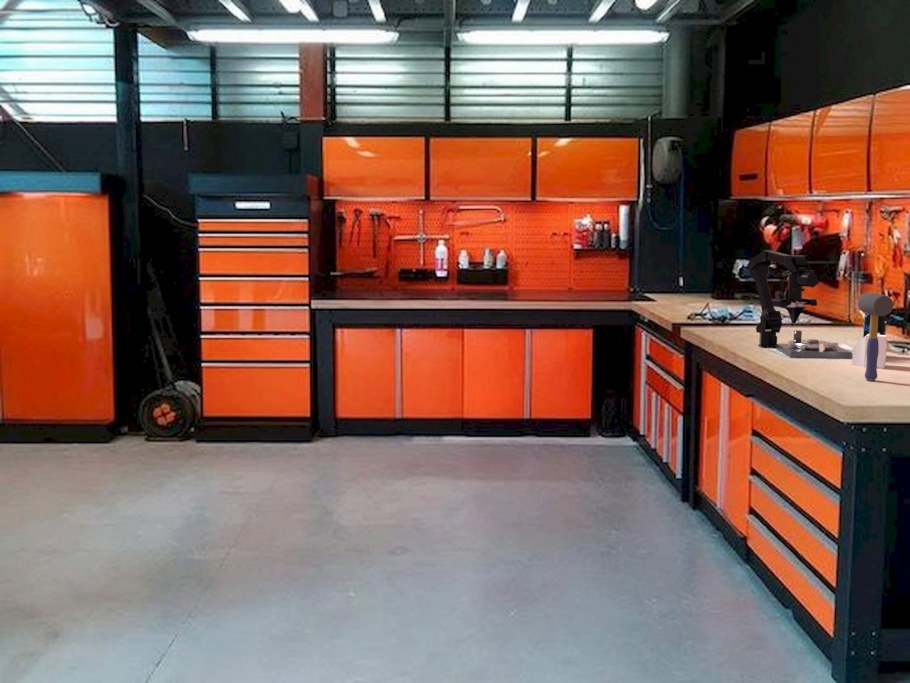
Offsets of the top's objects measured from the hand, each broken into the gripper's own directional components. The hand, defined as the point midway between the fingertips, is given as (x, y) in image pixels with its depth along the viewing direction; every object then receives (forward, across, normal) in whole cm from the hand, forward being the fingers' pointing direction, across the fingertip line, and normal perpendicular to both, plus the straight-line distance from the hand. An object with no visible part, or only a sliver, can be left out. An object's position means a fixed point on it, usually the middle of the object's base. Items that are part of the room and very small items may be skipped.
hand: (793, 323), depth 393 cm
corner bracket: (+12, -3, +40) cm, 42 cm away
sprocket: (+9, -4, +8) cm, 13 cm away
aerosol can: (+12, -23, +21) cm, 33 cm away
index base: (+12, -4, +8) cm, 15 cm away
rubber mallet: (+12, +22, +67) cm, 72 cm away
